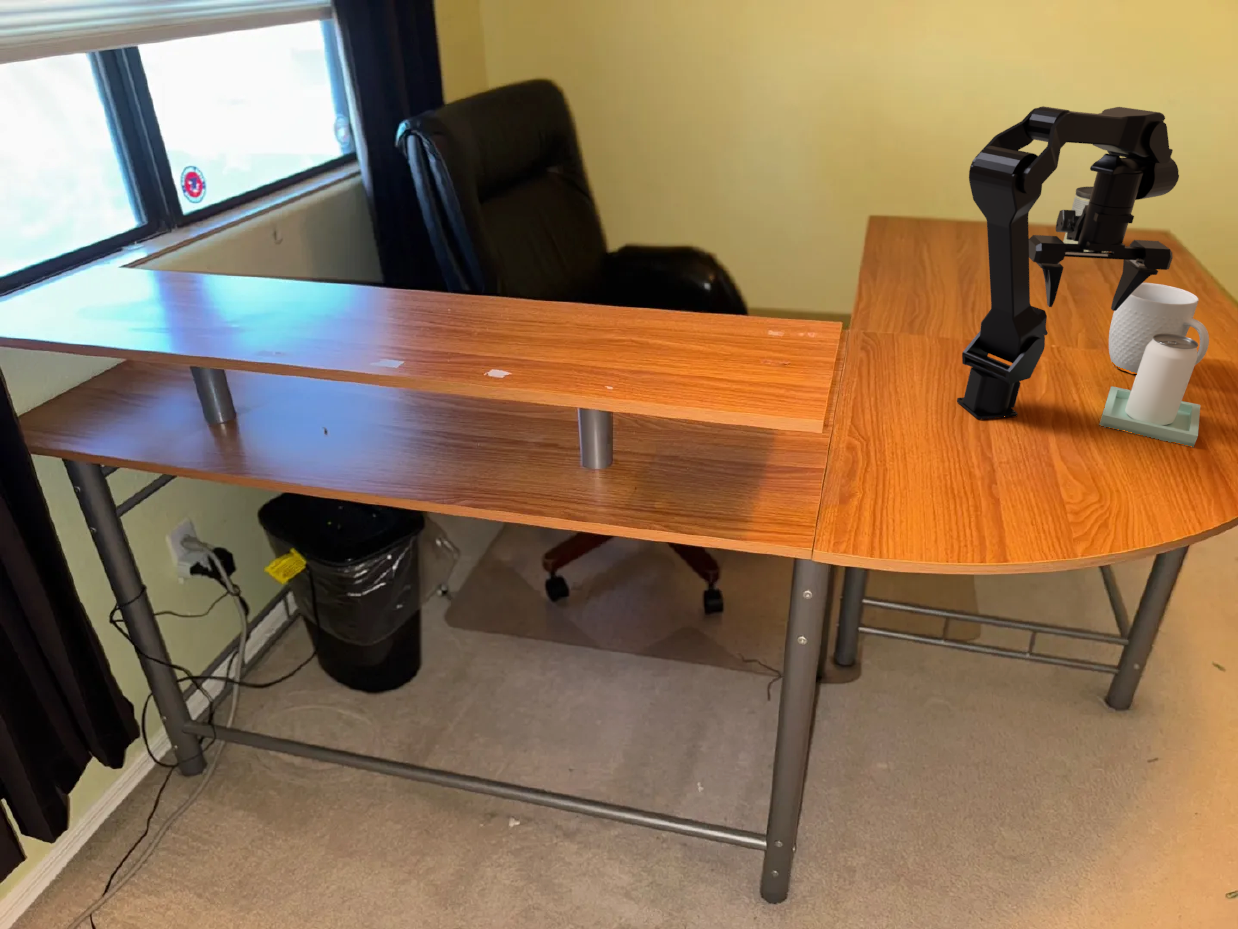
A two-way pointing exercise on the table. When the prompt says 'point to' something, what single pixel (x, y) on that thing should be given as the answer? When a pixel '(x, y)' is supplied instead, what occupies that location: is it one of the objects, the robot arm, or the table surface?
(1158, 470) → the table surface
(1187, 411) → the tray
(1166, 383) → the can
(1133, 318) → the mug
